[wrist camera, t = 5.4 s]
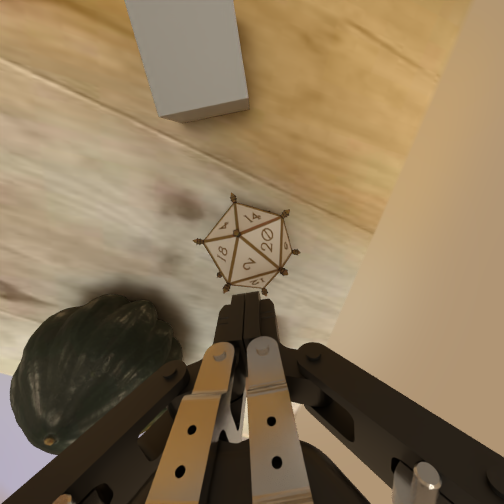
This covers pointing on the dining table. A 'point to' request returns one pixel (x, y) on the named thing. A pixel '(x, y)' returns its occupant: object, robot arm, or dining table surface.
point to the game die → (249, 246)
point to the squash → (87, 367)
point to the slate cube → (190, 57)
